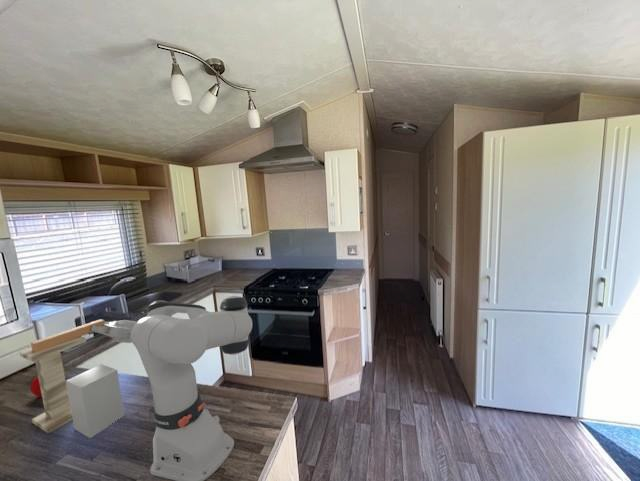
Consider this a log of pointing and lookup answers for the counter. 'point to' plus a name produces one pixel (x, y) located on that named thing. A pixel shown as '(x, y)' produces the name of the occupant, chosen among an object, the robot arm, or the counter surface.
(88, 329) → the bar
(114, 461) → the counter surface
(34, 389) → the fruit
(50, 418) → the tall stand
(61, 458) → the counter surface
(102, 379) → the pedestal
